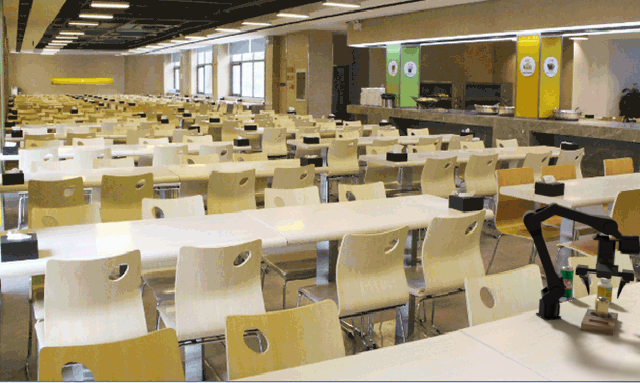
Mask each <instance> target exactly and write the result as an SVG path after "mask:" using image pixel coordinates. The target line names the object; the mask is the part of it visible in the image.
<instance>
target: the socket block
mask: <svg viewBox="0 0 640 383" xmlns="http://www.w3.org/2000/svg"><path fill="white" fill-rule="evenodd" d="M594 310H595V308H594V309H593V308H587V309H586V311H585V314H584V316H583V318H582V320H581V323H580V331H584V332H589V333H596V334H602V335H609V336H614V334H615V330H616V326H617V324H618V323H617V322H618V319H619V313H618V312H613V311H608V318H600V317H596V316H594Z"/></svg>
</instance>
